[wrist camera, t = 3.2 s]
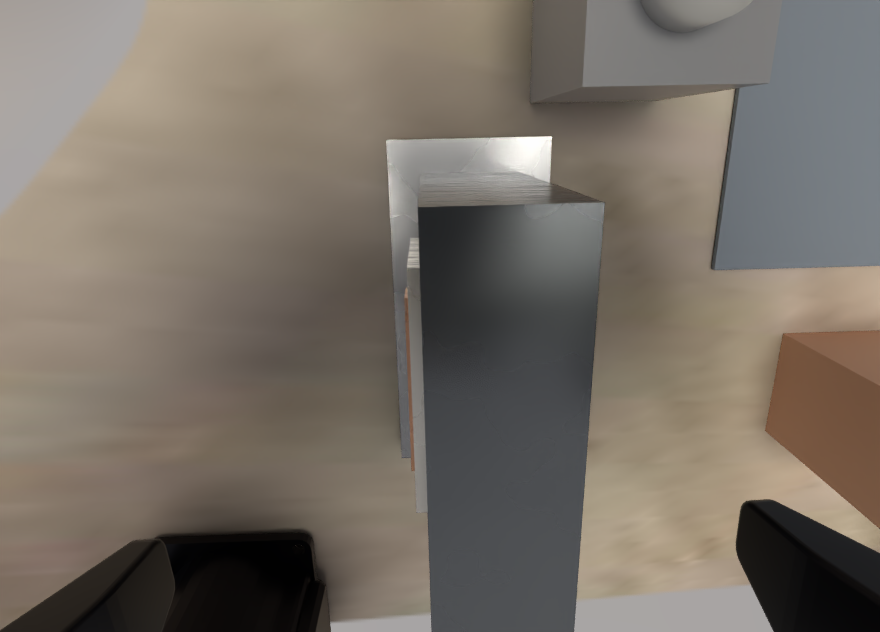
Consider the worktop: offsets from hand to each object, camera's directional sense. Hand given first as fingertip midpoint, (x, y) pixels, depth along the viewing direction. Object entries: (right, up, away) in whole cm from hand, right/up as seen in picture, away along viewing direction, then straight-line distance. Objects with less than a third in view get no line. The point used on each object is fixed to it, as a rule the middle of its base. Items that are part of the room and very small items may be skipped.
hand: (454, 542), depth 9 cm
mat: (+14, +10, +9) cm, 19 cm away
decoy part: (+5, +12, +8) cm, 15 cm away
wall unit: (+1, +4, +11) cm, 11 cm away
